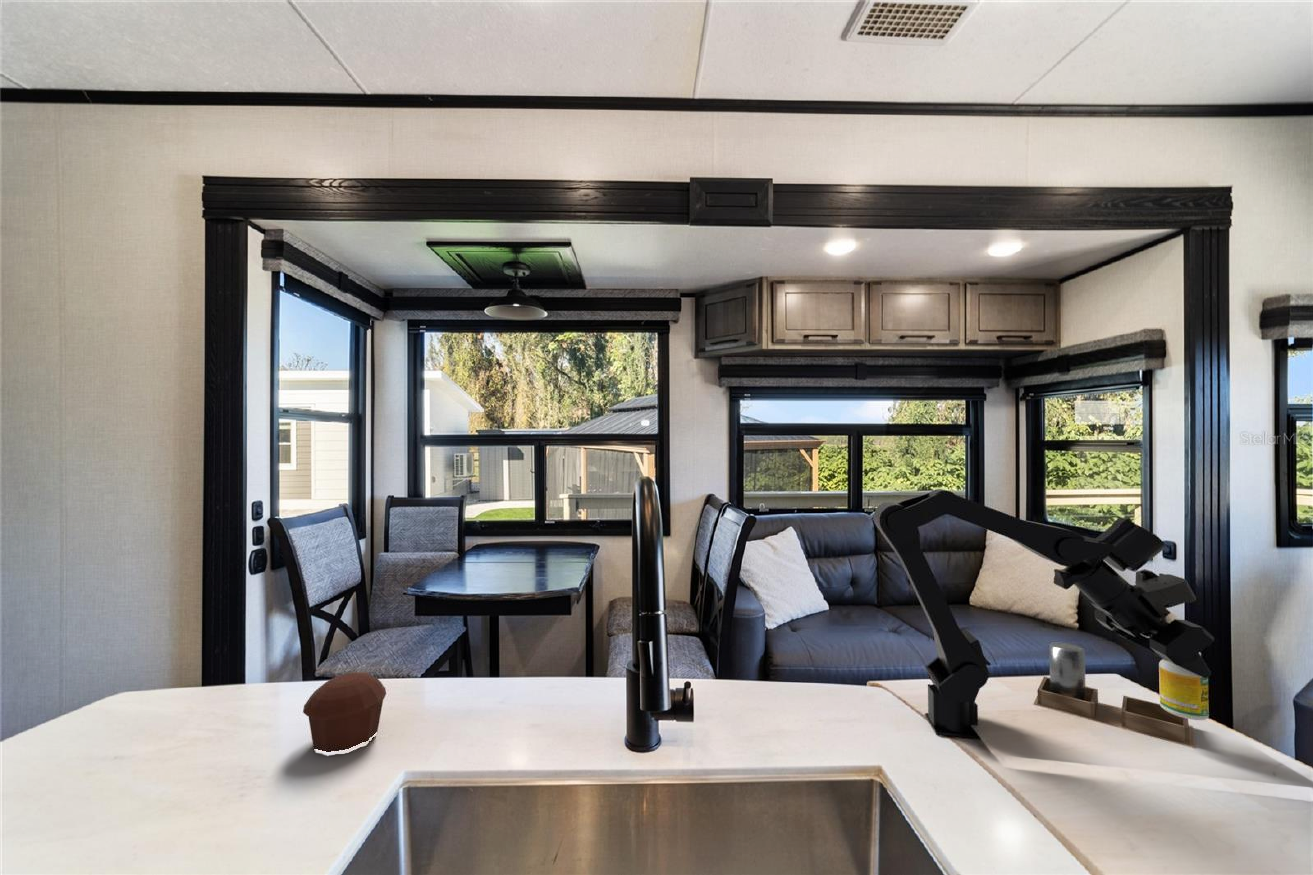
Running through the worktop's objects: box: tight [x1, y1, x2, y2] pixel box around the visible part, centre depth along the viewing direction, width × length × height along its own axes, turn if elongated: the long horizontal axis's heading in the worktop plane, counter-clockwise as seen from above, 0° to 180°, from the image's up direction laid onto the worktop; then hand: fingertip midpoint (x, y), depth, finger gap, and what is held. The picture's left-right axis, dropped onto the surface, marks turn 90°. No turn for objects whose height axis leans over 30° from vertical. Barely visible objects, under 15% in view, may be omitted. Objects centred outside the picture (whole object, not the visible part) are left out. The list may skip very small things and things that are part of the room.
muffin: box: [302, 671, 387, 752], centre depth 84 cm, size 12×11×10 cm
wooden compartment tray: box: [1032, 676, 1196, 749], centre depth 90 cm, size 20×9×4 cm, turn 46°
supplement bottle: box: [1158, 652, 1210, 721], centre depth 81 cm, size 5×5×10 cm
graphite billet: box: [1048, 641, 1087, 701], centre depth 94 cm, size 5×5×10 cm
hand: (1193, 668), depth 80 cm, fingers closed on supplement bottle, 5 cm apart
